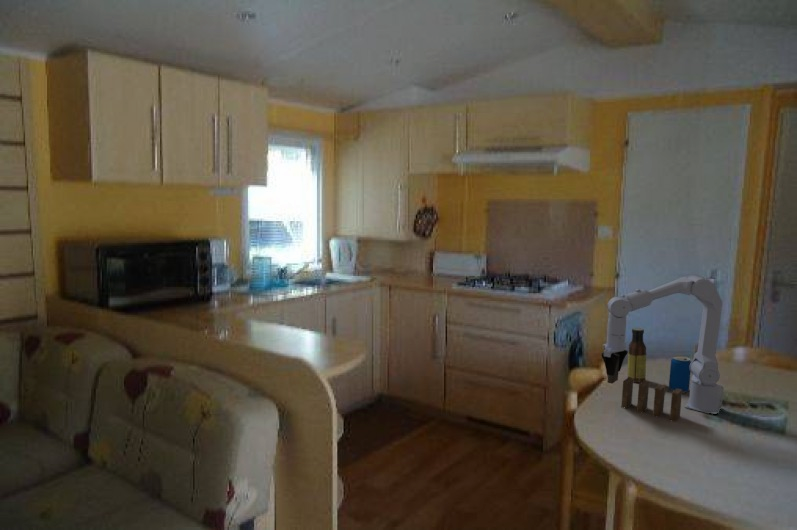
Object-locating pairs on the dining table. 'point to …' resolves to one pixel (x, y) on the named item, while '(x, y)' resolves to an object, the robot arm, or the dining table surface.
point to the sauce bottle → (637, 356)
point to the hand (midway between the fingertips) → (613, 372)
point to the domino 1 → (614, 378)
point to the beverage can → (680, 373)
